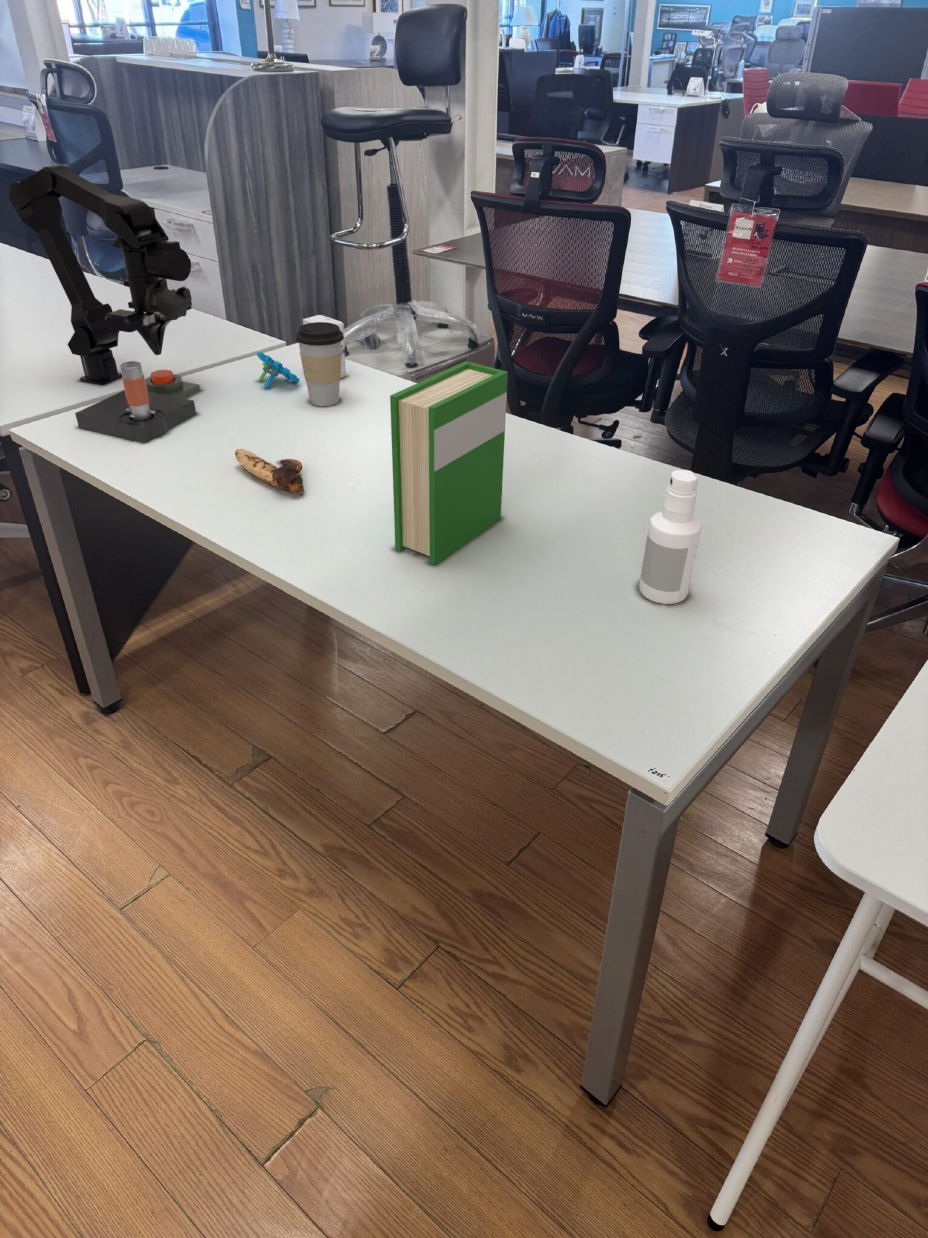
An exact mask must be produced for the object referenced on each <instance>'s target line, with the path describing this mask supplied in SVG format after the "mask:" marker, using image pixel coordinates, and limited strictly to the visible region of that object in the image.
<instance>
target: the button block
mask: <svg viewBox="0 0 928 1238" xmlns="http://www.w3.org/2000/svg"><path fill="white" fill-rule="evenodd" d="M173 376H174V381H173V382H171V383H166V384H155V383H152V379H151V375H150V376H148V377H145V382H146V387H147V391H149V392H154V393H159V394H164V395H169V396H174V397H179V398H184V399H188V398H189V397H192V396H193V395H195V394H197V393H199V392H201V385H200V384H199V383H195V382H188V381H183V378H182V376H180V375H179V374H174V373H173Z"/></svg>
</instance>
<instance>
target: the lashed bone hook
mask: <svg viewBox="0 0 928 1238" xmlns="http://www.w3.org/2000/svg"><path fill="white" fill-rule="evenodd" d="M234 456H235V459H236V462H238V463H239V464H240V465H241V466H243V468H244V469H245V470H246V471H248V472H249V473H250V474H252V475H254V476H255V477H257V478H258V479H260V480H261V481H263V482H265V483H267V484H269V485H271V486H273V487H275V488H276V489H279V490H282V491H283V492H287V493H291V494H294V495H300V494H302V493H303V492H305V489H304V486H305V485H304V484H303V483H304V482H303V481H304V479H303V477H302V475H301V474H300V473H301V471H302V469H303V463H302V462H301V461H300V460H298V459H294V458H284V459H281V460H280V461H279V462H280V463H281V464H282V465H281V466H279V467H277V466H276V465H275V464H273V463H271V462H268V461H267V460H265V459H264V458H262V457H259V456H258V455H257V454H255V453H253V452H251V451H249V450H247V449H244V448H237V449H235V451H234Z"/></svg>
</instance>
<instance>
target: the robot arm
mask: <svg viewBox="0 0 928 1238" xmlns="http://www.w3.org/2000/svg"><path fill="white" fill-rule="evenodd" d="M62 197H63V198H66V199H67V200H68V201H71V202H72V203H74V204H76V205H78V206H80V207H81V208H83V209H85V210H87V211H89V212H91V213H92V214H94V215H95V216H97V217H98V218H100V219H101V220H102V222H103V224H104V226H105V227H106V228H107V229H108V230H109V231H111V232H112V233H113V234H114V235H116V236H117V238H116V239H115V240H114V241H113V242H112V248H113V249H118V250H119V249H120V250H121V254H122V259H123V263H124V268H125V272H126V273H125V274H126V277H127V279H124V280H122V282H123V286H124V287H127V288H129V292H130V297H131V301H129V302H127V306H128V309H134V310H127V309H121V308H120V309H116V310H114V311H113V307H112V306H111V305H110V303H102V302H101V301H100V300H99V299H97V298H96V296H95V294H94V291H93V290H92V288H91V286H90V284H89V281H88V279H87V277H86V275H85V273H84V271H83V268H82V265H81V264H80V262H79V260H78V258H77V256H76V254H75V251H74V249H73V247H72V245H71V243H70V241H69V239H68V236H67V235H66V233H65V230H64V229H63V225H62V217H63V216H62V213H63V207H62V205H61V201H60V199H61V198H62ZM8 199H9V202H10V204H11V205H12V207H13V209H14V211H15V212H16V214H17V215H18V217H19V219H20V220H21V221H22V222H23V223H24V224H26V226H28V228H30V229H31V230H32V231H34V232H35V233H36V235H37V237H38V239H39V241H40V243H41V246H42V247H43V250H44V251H45V253H46V256H47V258H48V260H49V262H50V264H51V266H52V268H53V270H54V273H55V274H56V276H57V278H58V281H59V283H60V285H61V287H62V289H63V291H64V293H65V295H66V297H67V299H68V301H69V304H70V306H71V310H70V323H71V324H70V325H71V326H72V329H73V334H72V336H71V337H70V340H69V341H68V343H67V346H68V348H69V350H70V352H71V354H72V355H75V356H79V358H80V361H81V365H82V370H83V374H84V376H81V377H80V378H79V380H80V381H81V382H86V383H91V384H96V385H100V386H103V385H106V384H108V383H110V382H113V381H115V380H117V379H120V378H122V372H119V371H118V367H117V362H116V358H115V357H114V354H113V350H112V348H117V347H118V346H119V333H120V332H124V333H133V332H136V331H137V333H138V334H139V336H141V337H142V339H143V340H144V342H145V343H146V345H147V346H148V347H149V349H150V350H151V352H152V353H153V355H155V356H160V355H161V354H162V352H163V351H162V350H163V345H164V337H165V332H166V329H167V326H168V325H169V324H170V323H171V322H172V321H176V320H178V319H179V318H181V317H186V316H187V312H188V311H190V310H192V309H193V307H192V306H193V303H192V299H193V298H192V294H191V291H190V289H189V288H187V287H186V286H181V287H179V288H177V289H169V288H168V287H167V284H166V281H165V280H169V281H170V280H171V281H176V282H184V281H186V280H187V279H188V278H189V276H190V274H191V272H192V261H191V258H190V256H189V254H188V253H187V252H186V251H185V249H183V248H181V244H180V242H179V241H177V240H172V241H171V240H169V239H170V238H169V236H168V235H167V233H166V231H165V229H164V228H163V227H162V226H161V224H160V223H159V221H158V220H157V218H156V216H155V215H154V213H153V212H152V210H151V208H150V206H149V205H148V203H146V202H144V201H142V200H140V199H136V198H133V197H130V196H124V195H116V194H113V193H112V192H109V191H107V190H105V189H104V188H102V187H101V186H99V185H97V184H95V183H93V182H91V181H90V180H88V179H86V178H84V177H82V176H80V175H79V174H77V173H75V172H73V171H71V170H70V168H69V167H67V166H66V165H63V164H54V165H48V166H43V167H42V168H41V169H39V170H37V172H35V173H33V174H32V175H30V176H28V177H26V178H24V179H22V180H20V181H15V182H12V183H11V184H10V187H9V191H8Z"/></svg>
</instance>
